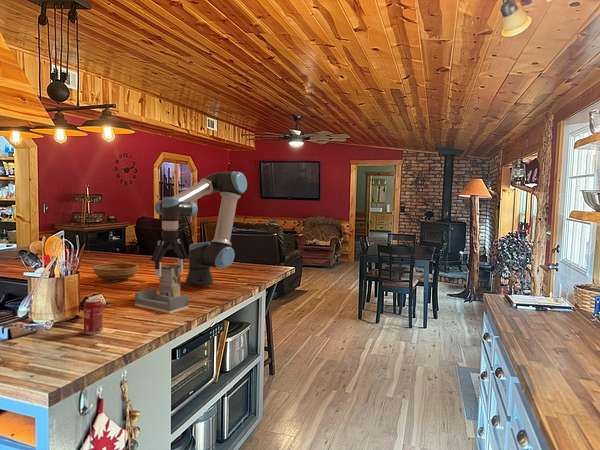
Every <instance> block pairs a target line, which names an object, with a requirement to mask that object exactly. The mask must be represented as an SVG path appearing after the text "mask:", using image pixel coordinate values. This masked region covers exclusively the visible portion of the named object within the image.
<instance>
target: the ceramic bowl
mask: <svg viewBox="0 0 600 450" xmlns="http://www.w3.org/2000/svg"><path fill="white" fill-rule="evenodd" d="M139 267H140V266H139V264H137V263H133V262H109V263H102V264H96V265H94V266H92V268H93V272H94V274H95V275H96V276H97V277H98V278H101V279H104V280H105V281H106V282H108V281H109V283H118V282H119V281H120V282H124V281H127V280H128V279H129V278H131V277H133V276H134V275H136V273H137V272H138V270H139Z"/></svg>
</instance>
